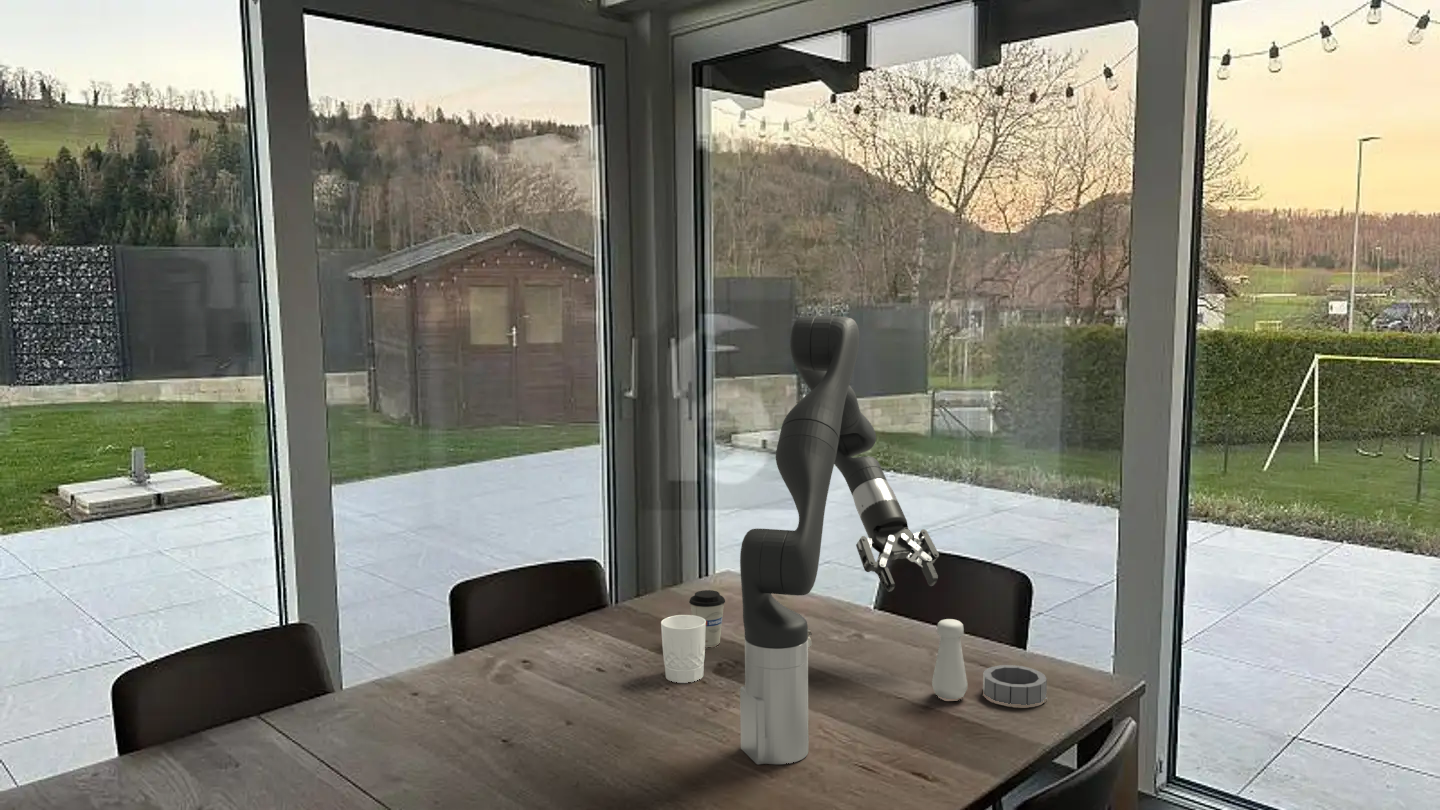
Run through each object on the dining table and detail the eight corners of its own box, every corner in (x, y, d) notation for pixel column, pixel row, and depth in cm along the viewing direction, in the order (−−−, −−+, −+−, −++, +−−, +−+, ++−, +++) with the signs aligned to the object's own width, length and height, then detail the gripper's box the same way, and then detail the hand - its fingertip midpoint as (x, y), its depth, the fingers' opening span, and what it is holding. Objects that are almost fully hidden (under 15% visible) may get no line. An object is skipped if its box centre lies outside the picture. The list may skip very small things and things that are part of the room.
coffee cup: (684, 641, 203) (683, 591, 202) (716, 636, 206) (716, 586, 205) (698, 652, 197) (697, 601, 196) (731, 646, 200) (731, 595, 198)
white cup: (709, 669, 188) (708, 615, 187) (704, 685, 180) (703, 629, 179) (665, 668, 189) (664, 614, 188) (658, 684, 181) (657, 628, 180)
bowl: (1008, 712, 167) (1008, 691, 167) (969, 690, 176) (969, 670, 176) (1060, 702, 171) (1061, 681, 170) (1019, 680, 180) (1020, 661, 180)
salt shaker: (967, 705, 170) (968, 627, 169) (931, 702, 171) (932, 625, 170) (966, 691, 176) (967, 616, 174) (932, 689, 177) (932, 615, 176)
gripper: (852, 501, 186) (885, 580, 177) (920, 494, 191) (956, 570, 182) (837, 524, 192) (869, 602, 182) (904, 517, 197) (938, 592, 188)
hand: (912, 586), depth 182 cm, fingers open, 8 cm apart
